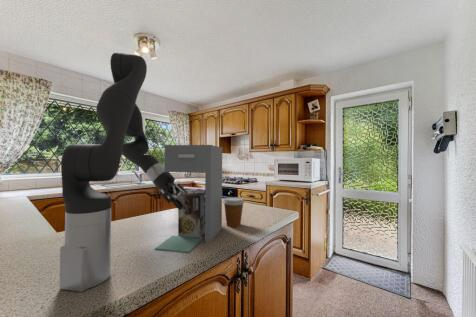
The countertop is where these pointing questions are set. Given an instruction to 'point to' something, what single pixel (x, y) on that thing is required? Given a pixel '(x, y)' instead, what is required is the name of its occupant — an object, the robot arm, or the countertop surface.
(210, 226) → the grey tall hooked frame
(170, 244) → the mat
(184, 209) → the coffee box
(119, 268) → the countertop surface
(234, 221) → the disposable coffee cup
